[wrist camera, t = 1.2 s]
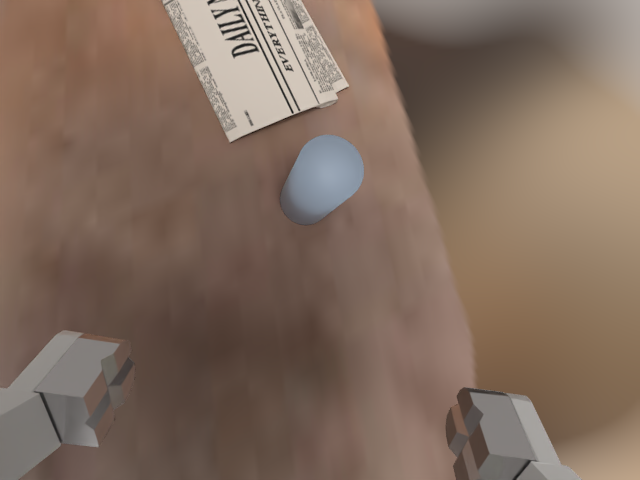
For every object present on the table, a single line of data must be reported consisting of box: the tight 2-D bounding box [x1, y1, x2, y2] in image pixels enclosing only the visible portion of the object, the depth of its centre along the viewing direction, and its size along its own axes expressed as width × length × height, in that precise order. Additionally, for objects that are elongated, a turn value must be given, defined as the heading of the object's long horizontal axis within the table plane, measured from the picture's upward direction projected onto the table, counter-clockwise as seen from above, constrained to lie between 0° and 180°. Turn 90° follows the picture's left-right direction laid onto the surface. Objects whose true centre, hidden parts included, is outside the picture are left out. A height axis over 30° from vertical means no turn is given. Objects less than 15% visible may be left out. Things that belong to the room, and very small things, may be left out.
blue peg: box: [280, 135, 364, 225], centre depth 28 cm, size 4×4×9 cm
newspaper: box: [161, 0, 349, 143], centre depth 33 cm, size 23×12×2 cm, turn 26°
